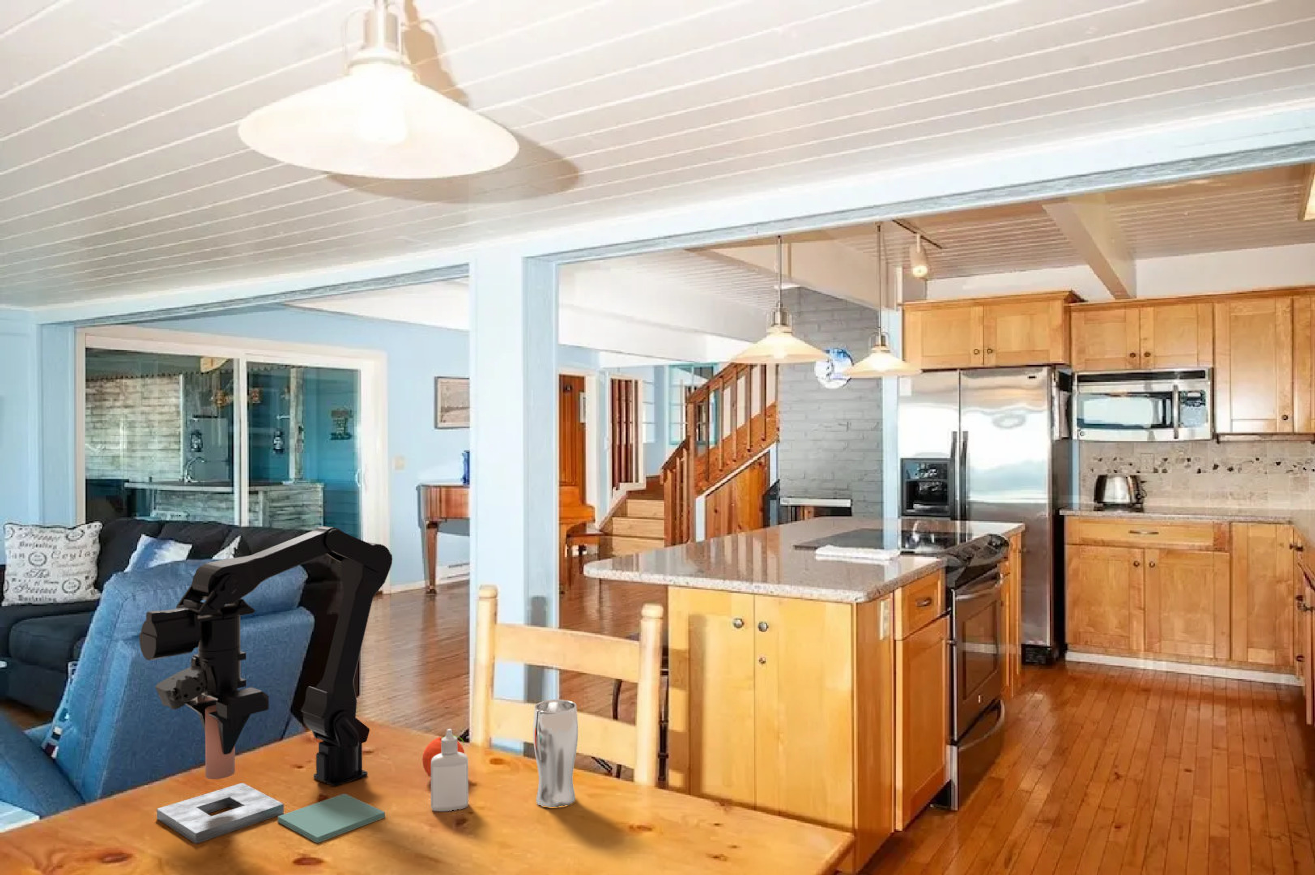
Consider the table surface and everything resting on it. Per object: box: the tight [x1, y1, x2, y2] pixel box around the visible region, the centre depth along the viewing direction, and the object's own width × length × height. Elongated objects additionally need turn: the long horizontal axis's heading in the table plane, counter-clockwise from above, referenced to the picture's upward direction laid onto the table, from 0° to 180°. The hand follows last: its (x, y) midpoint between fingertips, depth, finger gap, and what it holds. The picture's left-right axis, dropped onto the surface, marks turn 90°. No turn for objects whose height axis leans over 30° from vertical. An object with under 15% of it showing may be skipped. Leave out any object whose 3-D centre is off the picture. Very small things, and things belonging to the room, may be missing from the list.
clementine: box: [422, 735, 466, 778], centre depth 153 cm, size 8×7×7 cm
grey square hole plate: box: [156, 782, 285, 845], centre depth 138 cm, size 13×13×2 cm
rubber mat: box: [277, 793, 386, 844], centre depth 137 cm, size 11×11×1 cm
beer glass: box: [532, 699, 579, 807], centre depth 143 cm, size 7×7×15 cm
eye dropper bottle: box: [430, 728, 469, 812], centre depth 141 cm, size 4×6×12 cm
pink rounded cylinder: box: [204, 705, 236, 780], centre depth 138 cm, size 4×4×10 cm
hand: (220, 750), depth 138 cm, fingers closed on pink rounded cylinder, 4 cm apart
